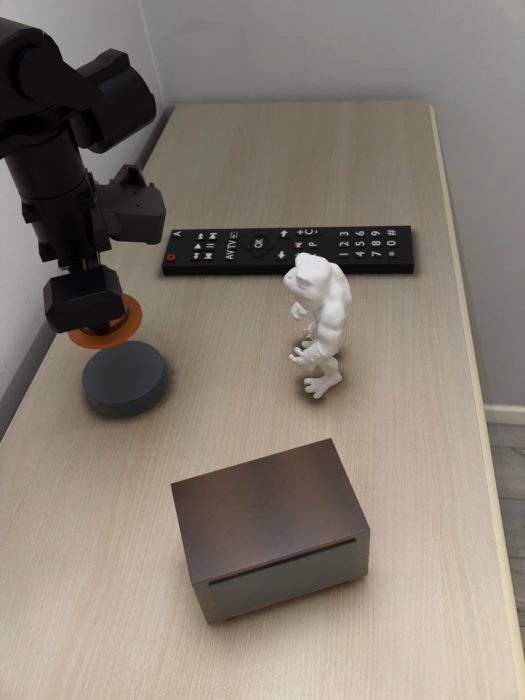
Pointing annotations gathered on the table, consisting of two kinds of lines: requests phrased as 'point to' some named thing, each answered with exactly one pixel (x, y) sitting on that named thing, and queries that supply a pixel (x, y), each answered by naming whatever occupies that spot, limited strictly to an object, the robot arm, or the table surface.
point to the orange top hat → (111, 328)
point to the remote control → (288, 250)
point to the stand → (125, 379)
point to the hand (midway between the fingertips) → (101, 315)
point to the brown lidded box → (271, 530)
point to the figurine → (320, 316)
